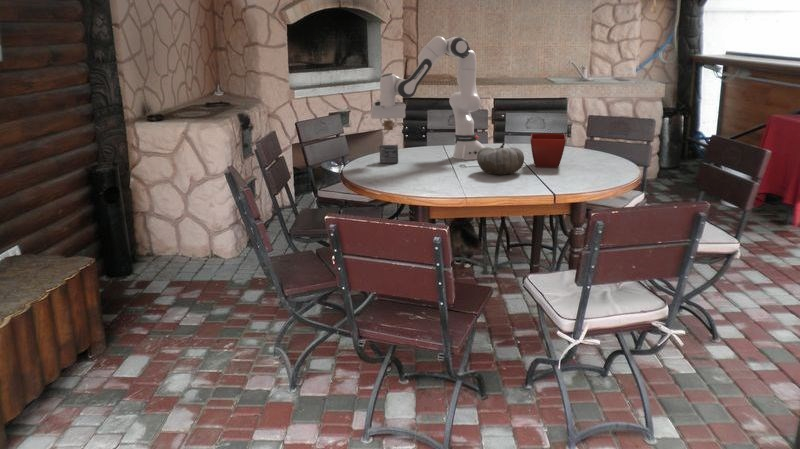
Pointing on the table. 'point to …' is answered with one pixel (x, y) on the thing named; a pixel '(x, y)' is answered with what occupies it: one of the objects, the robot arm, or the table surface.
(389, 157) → the small box
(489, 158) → the gourd
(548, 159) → the plant pot
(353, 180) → the table surface
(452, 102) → the robot arm
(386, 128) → the walnut cube
